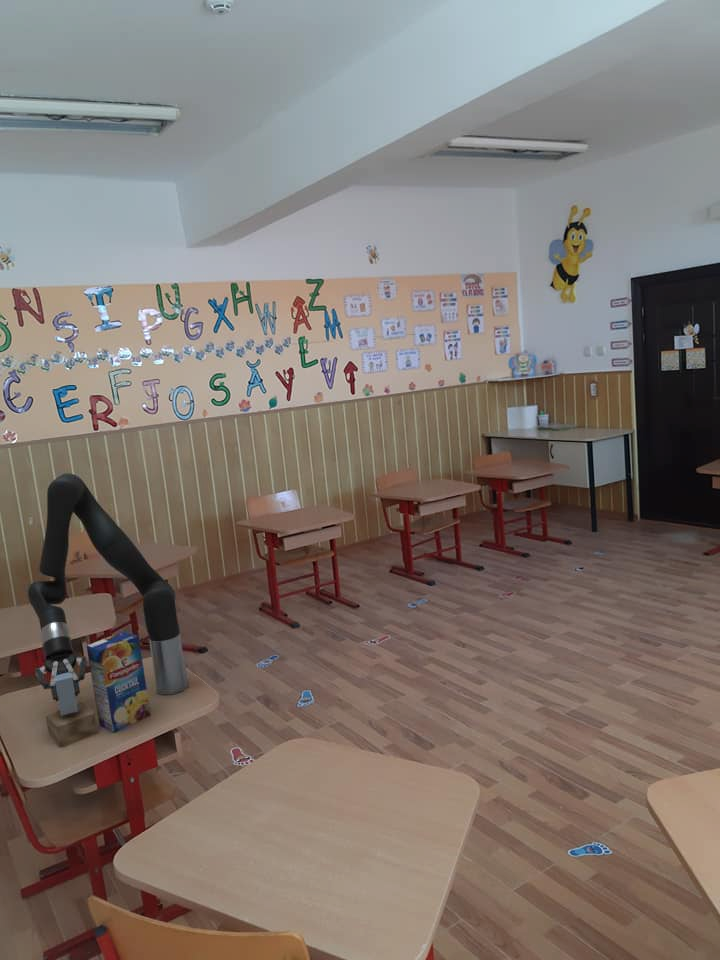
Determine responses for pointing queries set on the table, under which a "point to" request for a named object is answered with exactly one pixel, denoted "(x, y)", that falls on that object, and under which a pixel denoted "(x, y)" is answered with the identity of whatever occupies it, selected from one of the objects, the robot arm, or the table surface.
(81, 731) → the walnut block
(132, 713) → the juice carton
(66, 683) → the slate column
